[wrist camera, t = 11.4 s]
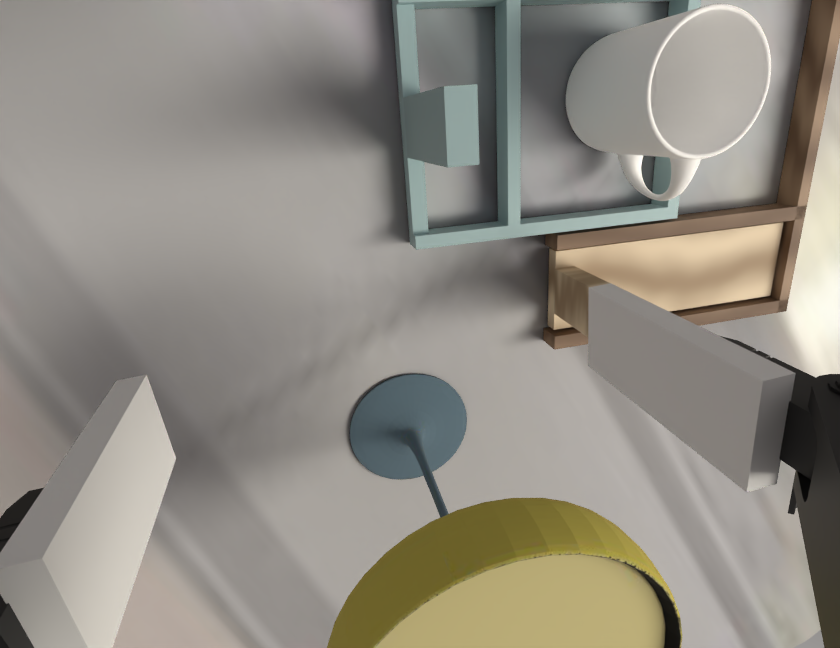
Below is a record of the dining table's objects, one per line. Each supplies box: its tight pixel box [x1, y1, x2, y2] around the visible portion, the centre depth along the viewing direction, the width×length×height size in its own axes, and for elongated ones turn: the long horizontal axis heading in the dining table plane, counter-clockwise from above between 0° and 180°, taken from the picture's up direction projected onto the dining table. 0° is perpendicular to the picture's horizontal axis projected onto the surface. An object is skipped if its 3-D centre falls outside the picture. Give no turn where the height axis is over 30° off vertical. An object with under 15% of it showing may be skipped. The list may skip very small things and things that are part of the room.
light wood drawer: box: [548, 222, 784, 337], centre depth 43 cm, size 7×22×12 cm, turn 94°
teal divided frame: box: [392, 0, 701, 250], centre depth 35 cm, size 17×22×12 cm
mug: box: [566, 4, 771, 201], centre depth 37 cm, size 9×12×11 cm
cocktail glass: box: [327, 374, 682, 648], centre depth 36 cm, size 18×18×25 cm
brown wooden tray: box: [543, 0, 840, 349], centre depth 44 cm, size 29×24×2 cm
